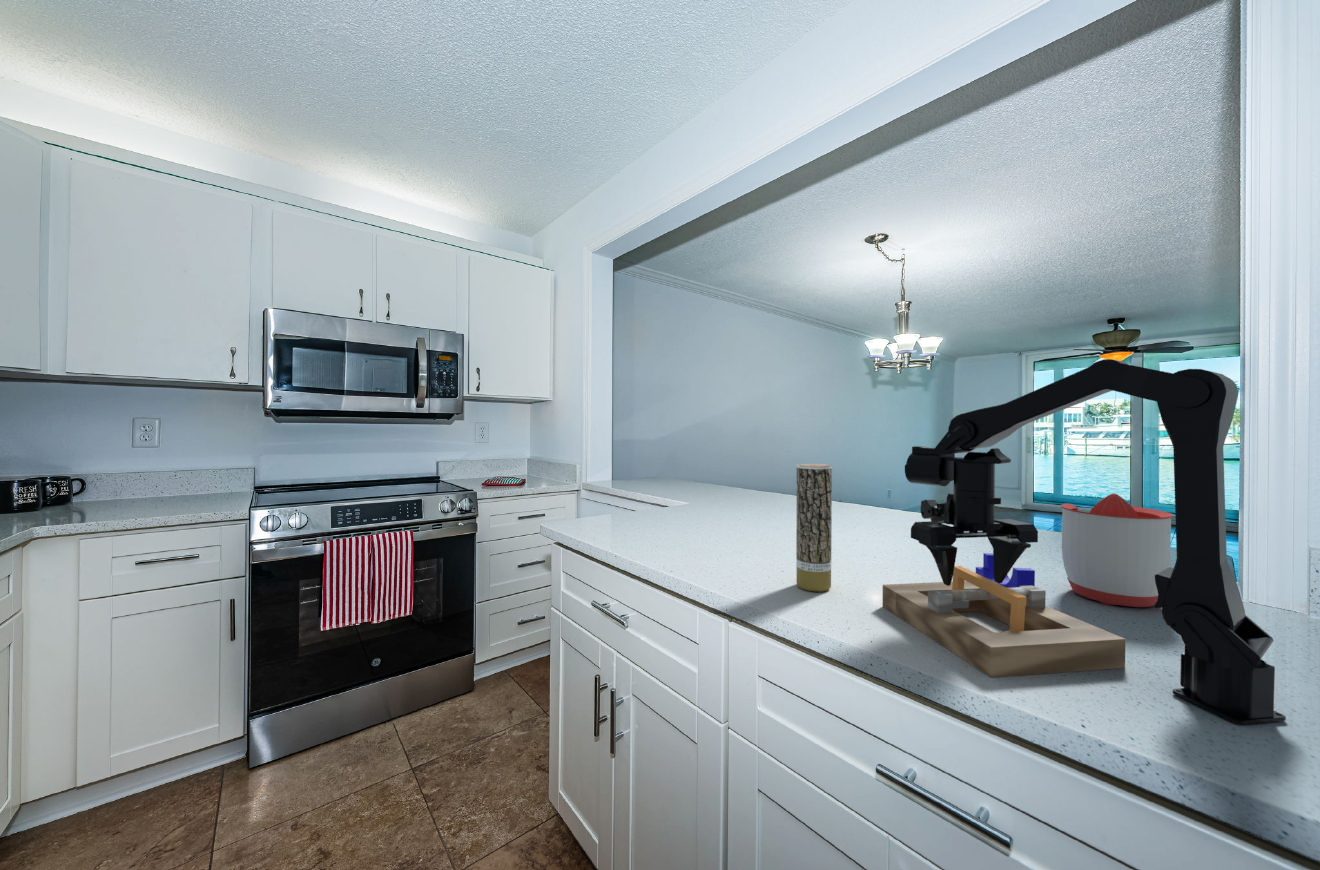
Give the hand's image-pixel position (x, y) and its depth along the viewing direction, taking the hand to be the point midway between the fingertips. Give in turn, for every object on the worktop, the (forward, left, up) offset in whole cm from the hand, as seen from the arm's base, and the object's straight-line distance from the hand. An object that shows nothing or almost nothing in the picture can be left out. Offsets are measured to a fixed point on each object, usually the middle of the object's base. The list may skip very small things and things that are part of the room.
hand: (972, 583), depth 80 cm
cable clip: (+15, -19, -7) cm, 25 cm away
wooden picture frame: (-3, 0, -7) cm, 8 cm away
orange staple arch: (-2, 0, -5) cm, 6 cm away
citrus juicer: (+9, -36, -7) cm, 38 cm away
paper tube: (+21, +18, -7) cm, 29 cm away
